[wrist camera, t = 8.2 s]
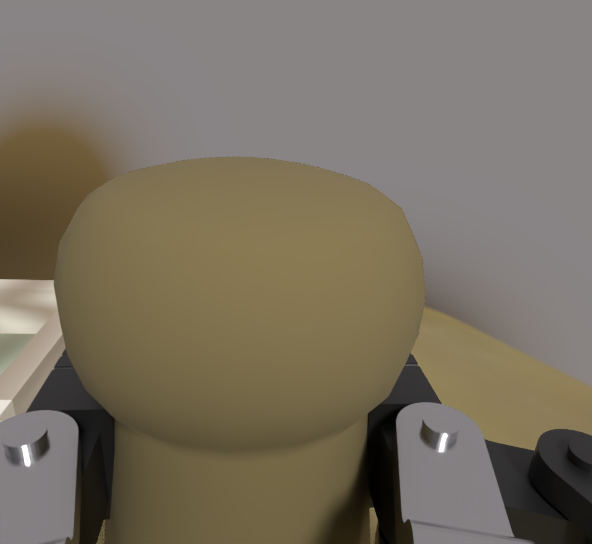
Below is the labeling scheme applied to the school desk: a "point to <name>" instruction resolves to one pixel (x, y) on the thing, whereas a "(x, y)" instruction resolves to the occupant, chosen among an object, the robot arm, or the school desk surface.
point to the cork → (239, 344)
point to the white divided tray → (27, 341)
